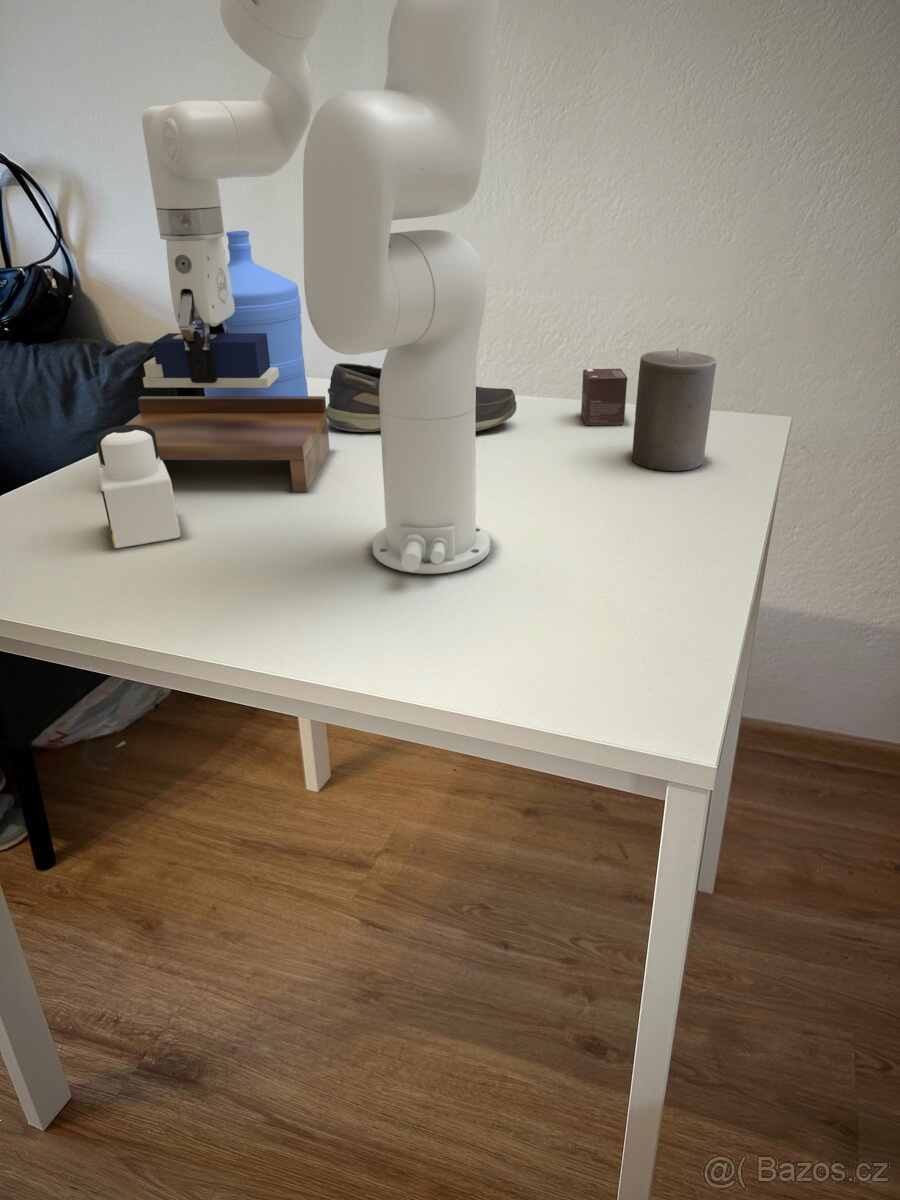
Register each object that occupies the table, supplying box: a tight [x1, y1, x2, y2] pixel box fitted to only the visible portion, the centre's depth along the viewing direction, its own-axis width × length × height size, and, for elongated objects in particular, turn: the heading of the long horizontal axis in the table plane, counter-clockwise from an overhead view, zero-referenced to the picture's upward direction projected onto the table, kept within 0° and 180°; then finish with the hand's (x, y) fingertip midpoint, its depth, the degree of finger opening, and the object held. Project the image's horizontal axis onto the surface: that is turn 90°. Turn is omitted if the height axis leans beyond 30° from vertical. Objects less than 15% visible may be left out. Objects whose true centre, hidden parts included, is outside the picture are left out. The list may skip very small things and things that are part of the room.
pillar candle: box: [630, 347, 718, 472], centre depth 114 cm, size 10×10×15 cm
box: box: [580, 368, 628, 426], centre depth 133 cm, size 6×6×7 cm
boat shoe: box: [326, 362, 517, 433], centre depth 130 cm, size 11×29×11 cm, turn 89°
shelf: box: [96, 395, 331, 493], centre depth 114 cm, size 16×26×8 cm, turn 87°
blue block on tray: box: [142, 332, 279, 389], centre depth 110 cm, size 16×6×6 cm, turn 87°
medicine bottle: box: [95, 424, 181, 549], centre depth 95 cm, size 7×7×12 cm
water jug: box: [193, 230, 309, 396], centre depth 127 cm, size 16×16×28 cm
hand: (212, 374), depth 111 cm, fingers closed on blue block on tray, 6 cm apart
